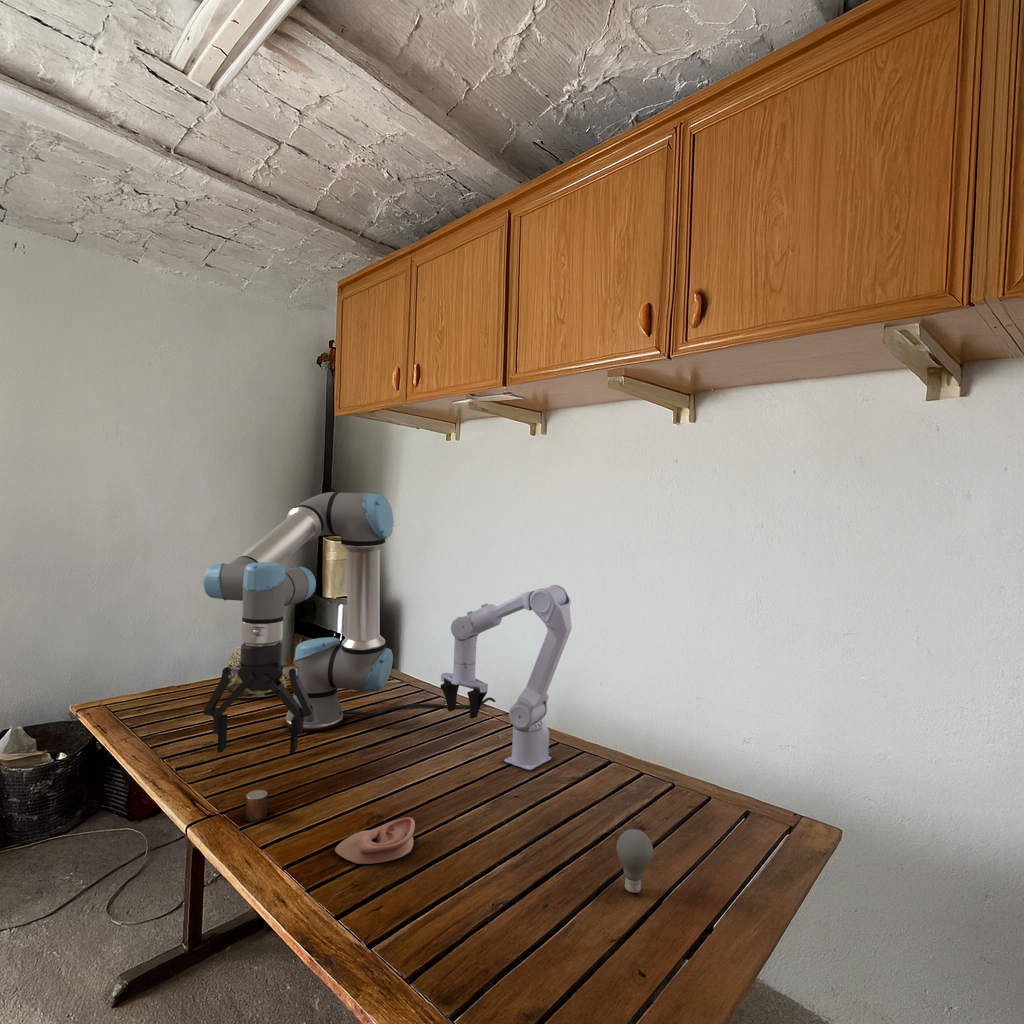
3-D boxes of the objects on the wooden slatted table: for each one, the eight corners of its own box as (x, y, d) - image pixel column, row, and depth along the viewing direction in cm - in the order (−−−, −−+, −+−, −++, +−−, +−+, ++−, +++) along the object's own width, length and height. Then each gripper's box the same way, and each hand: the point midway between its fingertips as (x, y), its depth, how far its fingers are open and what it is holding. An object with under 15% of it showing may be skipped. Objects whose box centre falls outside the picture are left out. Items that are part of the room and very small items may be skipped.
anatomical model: (327, 836, 111) (356, 806, 122) (326, 858, 111) (355, 826, 122) (398, 848, 108) (421, 815, 119) (397, 871, 108) (420, 836, 119)
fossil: (218, 695, 195) (220, 647, 195) (278, 685, 208) (279, 640, 207) (228, 703, 189) (230, 653, 188) (289, 692, 201) (290, 645, 201)
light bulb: (610, 879, 108) (613, 822, 108) (644, 879, 109) (647, 822, 109) (619, 902, 102) (622, 840, 102) (655, 901, 103) (658, 840, 103)
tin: (266, 810, 127) (267, 788, 127) (267, 820, 123) (267, 797, 123) (245, 813, 125) (246, 791, 125) (245, 823, 122) (246, 800, 122)
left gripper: (187, 645, 119) (183, 757, 119) (323, 648, 121) (319, 758, 121) (203, 636, 126) (199, 742, 126) (331, 639, 128) (326, 743, 129)
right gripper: (433, 659, 166) (431, 710, 166) (476, 670, 157) (473, 724, 157) (452, 654, 172) (449, 704, 172) (493, 665, 163) (491, 717, 163)
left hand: (258, 750), depth 124 cm, fingers open, 13 cm apart
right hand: (462, 713), depth 165 cm, fingers open, 7 cm apart
